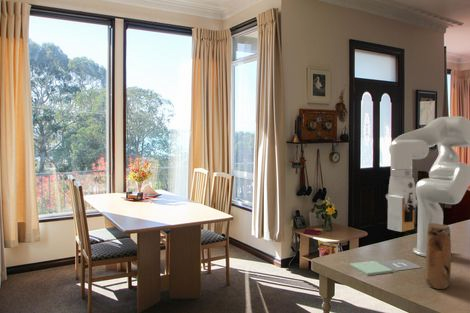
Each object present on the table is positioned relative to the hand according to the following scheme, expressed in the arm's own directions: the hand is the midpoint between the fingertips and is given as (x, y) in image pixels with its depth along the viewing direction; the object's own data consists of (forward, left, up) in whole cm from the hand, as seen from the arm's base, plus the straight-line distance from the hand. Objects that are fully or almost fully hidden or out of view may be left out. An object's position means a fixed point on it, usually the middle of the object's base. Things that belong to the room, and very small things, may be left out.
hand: (401, 219), depth 149 cm
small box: (0, 0, -4) cm, 4 cm away
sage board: (+13, 0, -18) cm, 22 cm away
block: (+2, +20, -18) cm, 27 cm away
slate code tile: (0, 0, -18) cm, 18 cm away
